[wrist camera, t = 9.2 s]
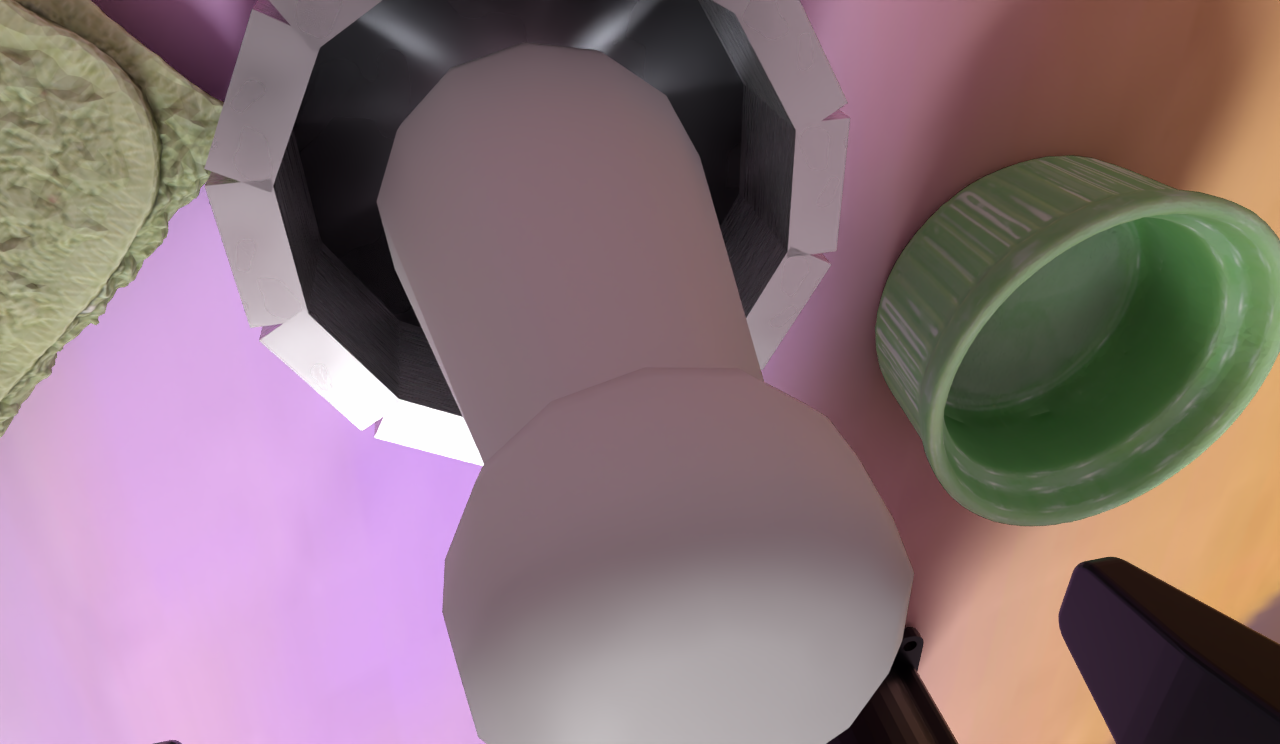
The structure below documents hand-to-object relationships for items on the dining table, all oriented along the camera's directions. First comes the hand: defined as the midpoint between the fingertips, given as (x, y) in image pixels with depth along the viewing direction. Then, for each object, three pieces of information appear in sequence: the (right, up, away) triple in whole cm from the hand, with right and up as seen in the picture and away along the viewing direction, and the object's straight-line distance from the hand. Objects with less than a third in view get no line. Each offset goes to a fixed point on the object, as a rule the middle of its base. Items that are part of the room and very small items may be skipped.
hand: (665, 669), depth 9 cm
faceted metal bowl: (-3, +8, +10) cm, 13 cm away
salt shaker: (-2, +7, +9) cm, 12 cm away
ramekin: (+10, +5, +15) cm, 19 cm away
